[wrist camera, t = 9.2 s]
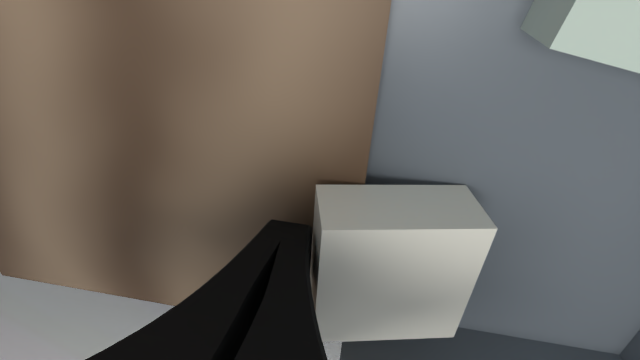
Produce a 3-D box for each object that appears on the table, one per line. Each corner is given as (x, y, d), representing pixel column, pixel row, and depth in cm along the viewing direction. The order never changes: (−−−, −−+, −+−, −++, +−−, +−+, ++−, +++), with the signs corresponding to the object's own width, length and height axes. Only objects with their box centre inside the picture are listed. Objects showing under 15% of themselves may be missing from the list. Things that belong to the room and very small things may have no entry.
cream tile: (308, 291, 13) (312, 342, 12) (315, 184, 11) (322, 230, 9) (432, 288, 14) (453, 337, 12) (466, 185, 11) (497, 228, 10)
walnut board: (20, 258, 17) (2, 274, 17) (-308, -389, 8) (-394, -428, 7) (345, 314, 16) (343, 335, 15) (450, -410, 6) (458, -464, 5)
